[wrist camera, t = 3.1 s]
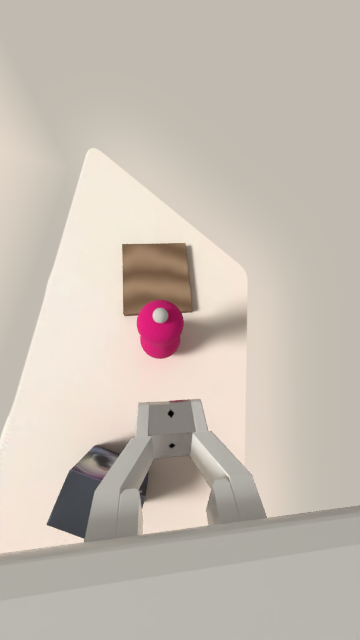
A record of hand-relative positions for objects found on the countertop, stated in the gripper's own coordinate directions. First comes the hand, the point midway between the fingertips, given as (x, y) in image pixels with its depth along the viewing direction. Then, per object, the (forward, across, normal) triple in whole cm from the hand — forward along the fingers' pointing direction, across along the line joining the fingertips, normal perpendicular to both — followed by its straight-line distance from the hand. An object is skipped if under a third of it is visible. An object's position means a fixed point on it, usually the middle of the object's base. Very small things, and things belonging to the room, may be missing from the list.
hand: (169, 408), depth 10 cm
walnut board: (+38, 0, +7) cm, 38 cm away
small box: (+12, +8, +32) cm, 35 cm away
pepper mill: (+28, 0, +16) cm, 32 cm away
